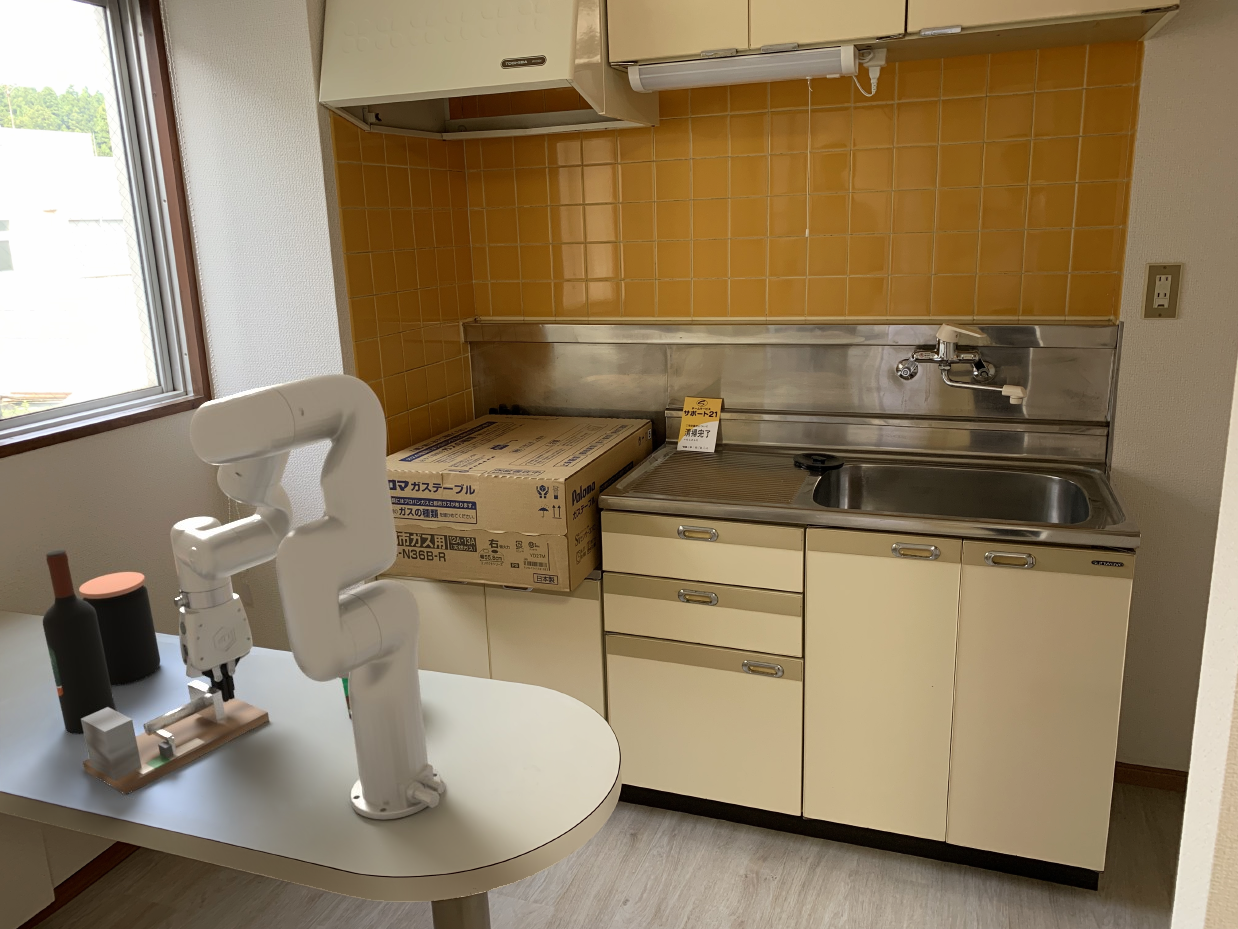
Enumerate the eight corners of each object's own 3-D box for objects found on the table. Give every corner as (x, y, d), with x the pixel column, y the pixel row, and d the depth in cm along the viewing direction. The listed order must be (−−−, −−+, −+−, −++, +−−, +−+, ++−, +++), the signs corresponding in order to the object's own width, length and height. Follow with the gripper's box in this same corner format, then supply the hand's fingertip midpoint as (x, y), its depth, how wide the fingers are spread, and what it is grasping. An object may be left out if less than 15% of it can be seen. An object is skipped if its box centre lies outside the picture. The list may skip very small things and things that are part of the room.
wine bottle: (89, 737, 152) (53, 563, 145) (54, 730, 155) (16, 559, 147) (127, 713, 159) (94, 546, 152) (93, 708, 162) (58, 543, 154)
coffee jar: (104, 666, 178) (85, 576, 173) (165, 656, 181) (149, 568, 176) (91, 691, 168) (72, 598, 163) (157, 680, 171) (139, 588, 166)
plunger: (231, 722, 150) (226, 693, 149) (167, 754, 142) (161, 723, 141) (201, 709, 155) (196, 680, 154) (138, 739, 147) (132, 709, 145)
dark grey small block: (173, 755, 142) (171, 744, 142) (167, 758, 141) (165, 748, 141) (166, 751, 143) (164, 741, 143) (160, 754, 143) (158, 744, 142)
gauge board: (269, 720, 155) (260, 668, 153) (125, 795, 136) (113, 736, 134) (226, 701, 162) (218, 651, 159) (84, 770, 143) (72, 714, 141)
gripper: (175, 616, 142) (195, 725, 147) (262, 583, 154) (278, 685, 158) (149, 606, 146) (169, 712, 151) (235, 574, 158) (251, 674, 163)
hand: (225, 698), depth 155 cm, fingers closed
